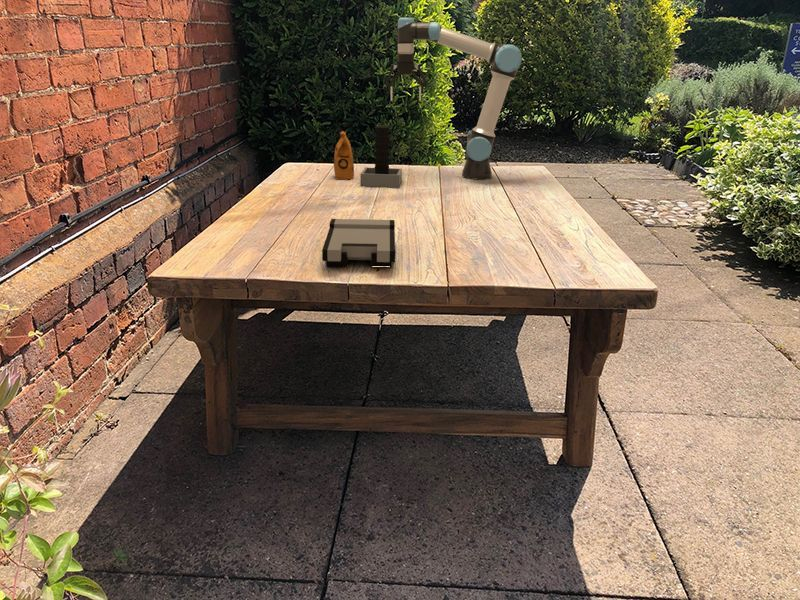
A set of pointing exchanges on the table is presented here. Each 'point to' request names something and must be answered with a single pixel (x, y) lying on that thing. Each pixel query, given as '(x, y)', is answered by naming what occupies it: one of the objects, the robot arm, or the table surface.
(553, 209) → the table surface
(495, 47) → the robot arm
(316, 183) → the table surface
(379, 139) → the black upright pillar
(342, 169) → the coffee package
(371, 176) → the box
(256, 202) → the table surface
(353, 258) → the office tray
